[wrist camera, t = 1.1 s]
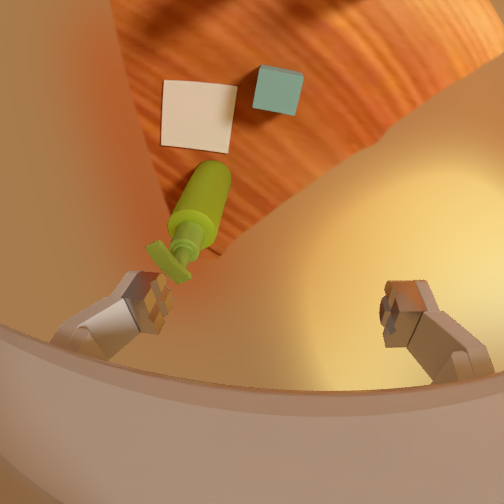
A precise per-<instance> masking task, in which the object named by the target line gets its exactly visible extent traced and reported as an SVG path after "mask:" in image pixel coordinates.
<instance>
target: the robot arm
mask: <svg viewBox="0 0 504 504" xmlns="http://www.w3.org/2000/svg"><path fill="white" fill-rule="evenodd" d="M166 283H167V279H166V276H165V274H163V273H155V272H144V271H128V272H127V273H126V275H125V276H124V277H123V279H122V280H121V282H120V283H119V284H118V286H117V287H116V288H115V290H114V291H113V293H112V294H111V296H106V297H105V298H103V299H101V300H99V301H98V302H96V303H94V304H93V305H91V306H89V307H88V308H86V309H84V310H83V311H81V312H79V313H78V314H76V315H74V316H73V317H71V318H69V319H68V320H66V321H64V322H63V323H62V325H61V326H60V327H59V329H58V330H57V332H56V333H55V335H54V336H53V338H52V339H51V341H50V342H49V343H48V342H45V341H42V340H40V339H37V338H34V337H32V336H30V335H27V334H24V333H22V332H20V331H17V330H15V329H12V328H10V327H8V326H6V325H4V324H1V323H0V504H504V371H501V372H497V373H495V371H494V367H493V365H492V362H491V359H490V357H489V354H488V351H487V348H486V346H485V345H483V344H482V343H481V342H480V341H479V340H478V339H476V338H475V337H474V336H473V335H472V334H471V333H469V332H468V331H467V330H466V329H465V328H463V327H462V326H461V325H460V324H459V323H457V322H456V321H455V320H454V319H453V318H451V317H450V316H449V315H448V314H446V313H445V312H444V311H440V310H439V308H438V305H437V303H436V301H435V298H434V296H433V294H432V291H431V289H430V287H429V285H428V283H427V281H426V280H413V281H387V283H386V285H385V289H384V290H385V293H386V295H385V296H384V297H383V298H382V300H381V304H380V312H379V314H380V322H381V324H382V325H383V326H384V327H385V328H384V332H383V337H384V342H385V347H386V348H388V347H389V348H392V347H407V349H408V350H409V352H410V353H411V354H412V355H413V357H414V358H415V359H416V360H417V361H418V363H419V364H420V365H421V366H422V367H423V369H424V370H425V371H426V373H427V374H428V375H429V376H430V377H431V379H432V380H433V382H432V383H431V384H430V385H424V386H415V387H405V388H394V389H380V390H361V391H300V390H279V389H265V388H253V387H242V386H233V385H225V384H217V383H210V382H203V381H197V380H190V379H185V378H179V377H174V376H168V375H163V374H158V373H153V372H148V371H144V370H140V369H135V368H131V367H127V366H123V365H119V364H115V363H112V362H109V359H110V358H111V357H113V356H114V355H115V354H116V353H117V352H119V351H120V350H121V349H122V348H123V347H124V346H125V345H127V344H128V343H129V342H130V341H132V340H133V339H134V338H135V337H136V336H137V335H139V334H140V332H143V333H151V334H159V333H160V331H161V329H162V326H163V325H164V323H165V321H164V318H163V317H165V316H166V315H168V314H169V312H170V310H171V307H172V294H171V291H170V290H169V289H168V288H167V287H166V286H165V285H166Z"/></svg>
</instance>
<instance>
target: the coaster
mask: <svg viewBox="0 0 504 504" xmlns="http://www.w3.org/2000/svg"><path fill="white" fill-rule="evenodd" d="M237 89H238V86H233V85H225V84H216V83H206V82H195V81H181V80H164V89H163V106H162V131H161V145H165V146H175V147H183V148H192V149H199V150H207V151H214V152H221V153H227V154H228V150H229V143H230V136H231V129H232V122H233V115H234V109H235V102H236V96H237Z"/></svg>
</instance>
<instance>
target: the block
mask: <svg viewBox="0 0 504 504" xmlns="http://www.w3.org/2000/svg"><path fill="white" fill-rule="evenodd" d="M303 79H304V76H303V75H302V73H301V72H297V71H292V70H288V69H283V68H278V67H272V66H267V65H261V67H260V68H259V74H258V79H257V85H256V90H255V96H254V101H253V107H252V108H256V109H262V110H268V111H273V112H278V113H283V114H288V115H292V116H295V113H296V109H297V105H298V101H299V96H300V92H301V88H302V84H303Z"/></svg>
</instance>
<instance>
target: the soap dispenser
mask: <svg viewBox="0 0 504 504" xmlns="http://www.w3.org/2000/svg"><path fill="white" fill-rule="evenodd" d="M231 182H232V176H231V173H230V171H229V169H228V168H227V167H226V166H225V165H224V164H222V163H221V162H218V161H214V160H209V161H205V162H202V163H201V164H199V165H198V166H197V167H196V169H195V171H194V173H193V174H192V176H191V178H190V180H189V182H188V184H187V186H186V187H185V189H184V191H183V193H182V195H181V197H180V199H179V201H178V203H177V205H176V207H175V209H174V211H173V213H172V215H171V217H170V219H169V221H168V232H169V234H170V236H171V237H172V240H171V243H170V246H169V250H170V252H169V251H168V249H167V248H166V247H165V245H164V244H163V242H162V241H156V242H153V243H151V244H149V245H148V246H146V247H145V249H146V250H147V252H148V253H149V255H150V256H151V258H152V259H153V260H154V262H155V263H156V264H157V265H158V267H160V269H161V270H162V271H163V272H164V273H165V274H167V275H168V276H169V277H170V278H171V279H172V280H173V281H175V282H176V283H177V284H179V283H182V282H185V281H188V280H191V279H192V274H191V273H190V272H189V271H188V270H187V269H186V268H187V265H188V262H192V261H195V260H196V259H197V258H198V256H199V254H200V250H201V249H204V248H207V247H209V246H210V245H211V244H212V243H213V242H214V241H215V238H216V235H217V231H218V228H219V224H220V221H221V217H222V213H223V210H224V206H225V203H226V199H227V196H228V192H229V189H230V185H231Z"/></svg>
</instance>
